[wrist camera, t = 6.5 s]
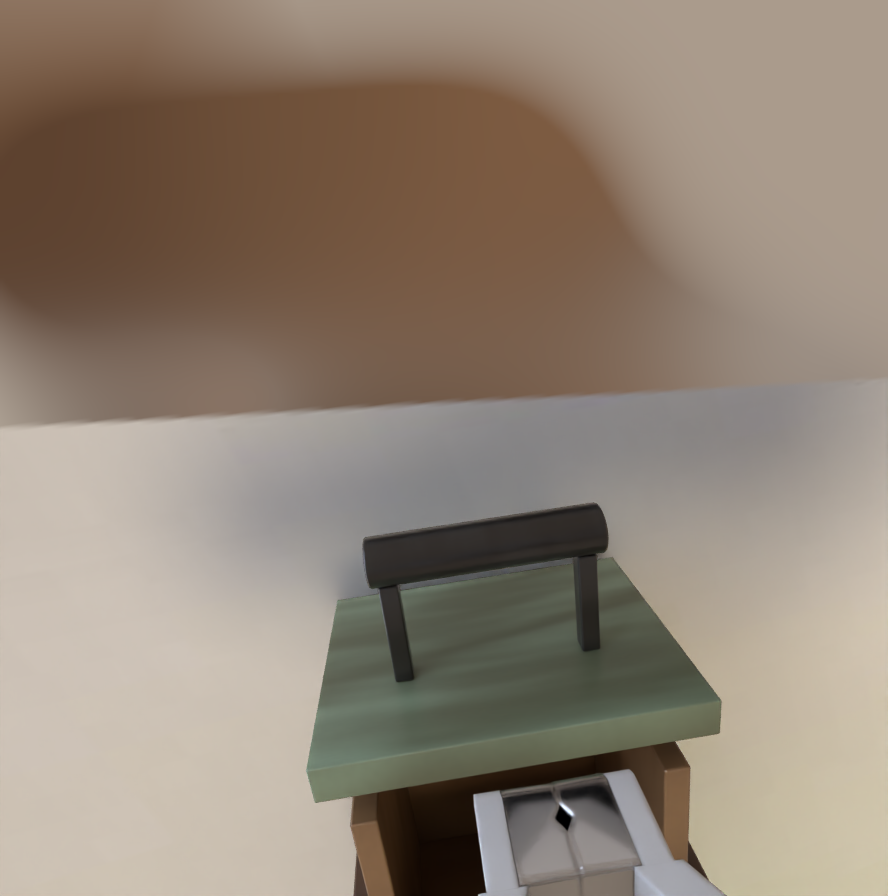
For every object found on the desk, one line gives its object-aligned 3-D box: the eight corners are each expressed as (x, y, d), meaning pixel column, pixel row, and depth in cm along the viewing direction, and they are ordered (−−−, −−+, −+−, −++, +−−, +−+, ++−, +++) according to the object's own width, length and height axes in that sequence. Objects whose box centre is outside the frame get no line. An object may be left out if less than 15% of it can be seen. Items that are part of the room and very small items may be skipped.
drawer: (311, 487, 20) (261, 614, 12) (609, 443, 20) (730, 540, 13) (389, 836, 26) (386, 1062, 18) (619, 796, 26) (706, 1001, 19)
